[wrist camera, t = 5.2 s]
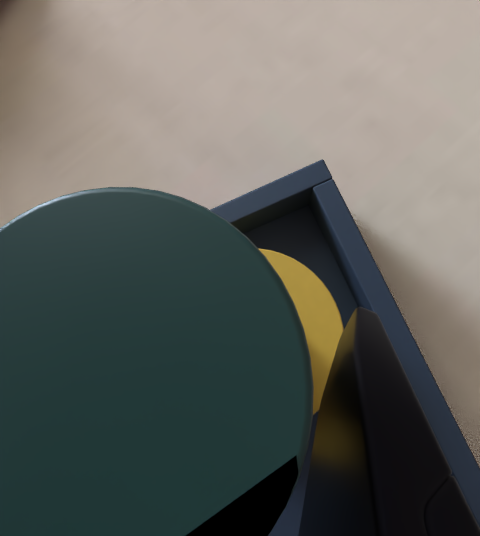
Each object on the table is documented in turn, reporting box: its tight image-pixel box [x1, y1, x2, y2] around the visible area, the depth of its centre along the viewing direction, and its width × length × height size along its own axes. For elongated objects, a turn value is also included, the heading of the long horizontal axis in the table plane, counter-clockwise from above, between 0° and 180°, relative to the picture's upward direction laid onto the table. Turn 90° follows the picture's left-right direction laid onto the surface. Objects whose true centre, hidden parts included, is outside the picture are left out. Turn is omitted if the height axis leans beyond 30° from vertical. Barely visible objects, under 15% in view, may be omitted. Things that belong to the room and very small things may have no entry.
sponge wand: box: [0, 187, 344, 536], centre depth 9 cm, size 6×6×13 cm
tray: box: [210, 160, 480, 536], centre depth 14 cm, size 20×15×3 cm
